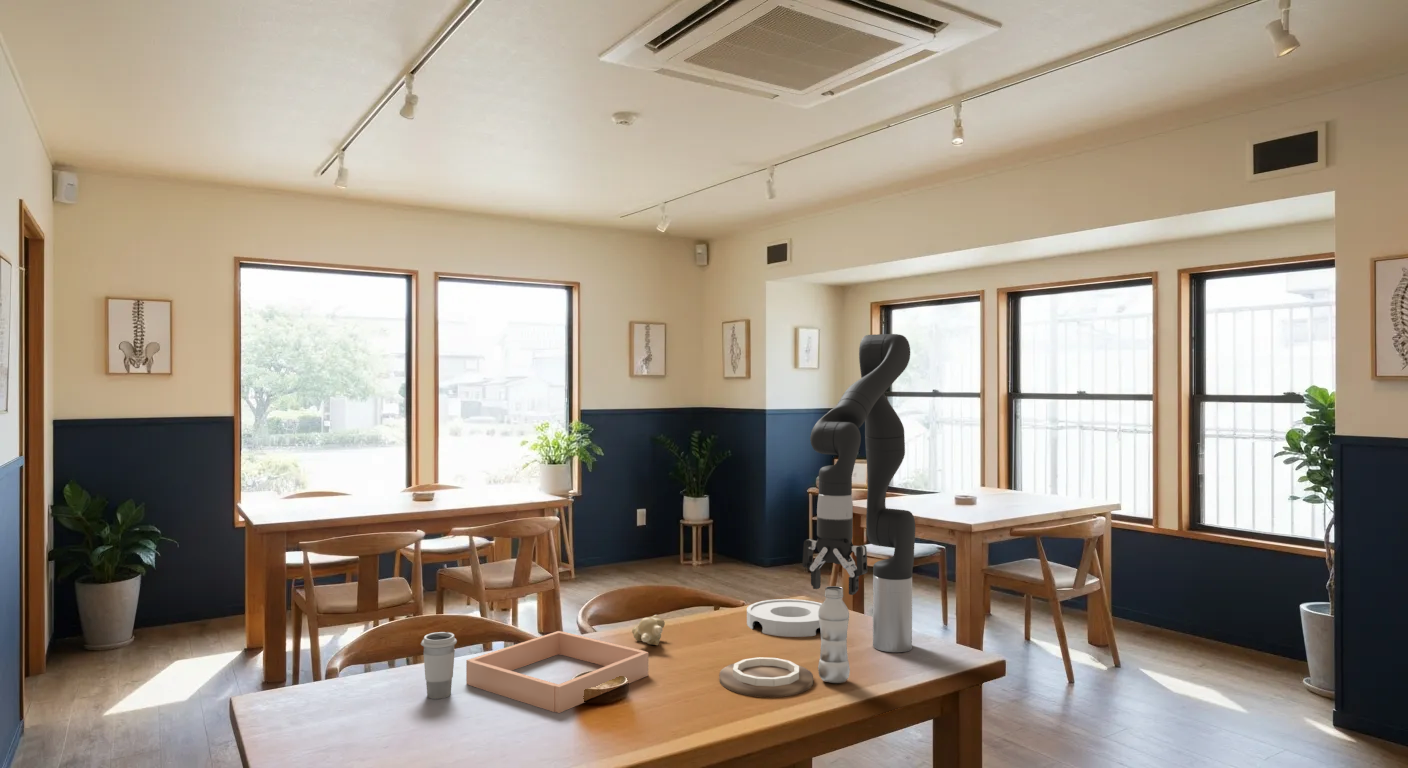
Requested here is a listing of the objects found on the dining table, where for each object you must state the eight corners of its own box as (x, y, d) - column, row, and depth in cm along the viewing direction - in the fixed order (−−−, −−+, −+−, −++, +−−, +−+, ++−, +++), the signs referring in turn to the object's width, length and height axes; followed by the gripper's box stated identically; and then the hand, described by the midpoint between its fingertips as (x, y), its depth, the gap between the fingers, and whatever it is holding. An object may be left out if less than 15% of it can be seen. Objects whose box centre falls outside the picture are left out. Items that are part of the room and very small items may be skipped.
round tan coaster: (752, 659, 205) (752, 654, 205) (829, 677, 193) (829, 671, 193) (700, 683, 189) (700, 678, 189) (782, 704, 177) (782, 698, 177)
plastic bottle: (849, 687, 187) (849, 592, 187) (816, 685, 188) (817, 590, 188) (850, 677, 193) (850, 585, 193) (818, 675, 194) (819, 583, 194)
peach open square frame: (559, 651, 210) (559, 630, 210) (648, 675, 194) (649, 652, 194) (465, 684, 188) (465, 660, 188) (558, 713, 172) (558, 687, 172)
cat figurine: (661, 612, 223) (662, 611, 212) (669, 640, 221) (671, 640, 210) (629, 623, 222) (629, 622, 210) (638, 651, 220) (638, 652, 209)
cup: (463, 691, 184) (463, 633, 184) (444, 702, 178) (444, 642, 177) (434, 687, 186) (434, 630, 186) (414, 698, 180) (414, 638, 180)
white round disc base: (741, 635, 225) (741, 619, 225) (751, 611, 248) (751, 597, 248) (834, 640, 222) (834, 624, 222) (835, 615, 244) (835, 601, 244)
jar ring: (756, 660, 201) (756, 653, 201) (810, 672, 193) (810, 665, 193) (720, 677, 190) (720, 670, 190) (777, 690, 181) (777, 683, 181)
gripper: (873, 516, 189) (872, 592, 189) (814, 510, 198) (813, 583, 198) (857, 520, 183) (856, 599, 183) (796, 514, 192) (796, 589, 192)
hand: (834, 591), depth 190 cm, fingers open, 8 cm apart
